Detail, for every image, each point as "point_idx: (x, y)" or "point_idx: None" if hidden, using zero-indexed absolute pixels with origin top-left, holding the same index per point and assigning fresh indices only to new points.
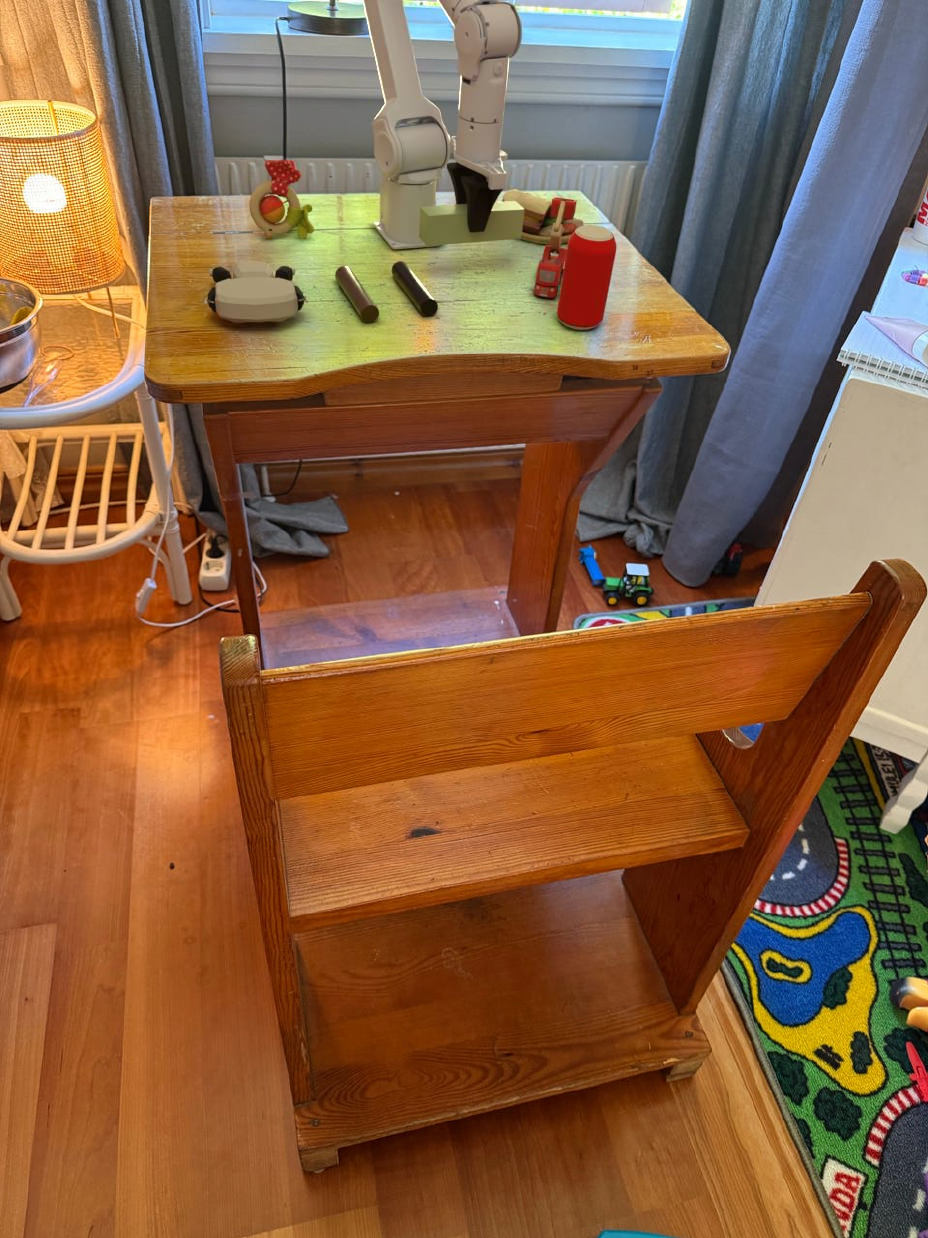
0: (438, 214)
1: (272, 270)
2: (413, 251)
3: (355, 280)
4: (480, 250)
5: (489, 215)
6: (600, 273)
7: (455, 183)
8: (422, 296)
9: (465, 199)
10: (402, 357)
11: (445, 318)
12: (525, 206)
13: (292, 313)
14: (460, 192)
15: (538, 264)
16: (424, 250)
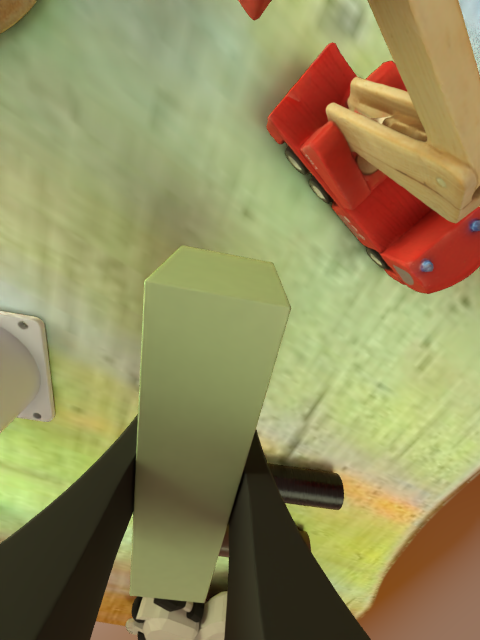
0: (204, 585)
1: (173, 619)
2: (65, 384)
3: (223, 552)
4: (81, 237)
5: (272, 476)
6: None
7: (89, 638)
8: (321, 507)
9: (125, 516)
10: (405, 538)
11: (350, 460)
12: None
13: None
14: (109, 565)
15: (421, 287)
16: (62, 363)
